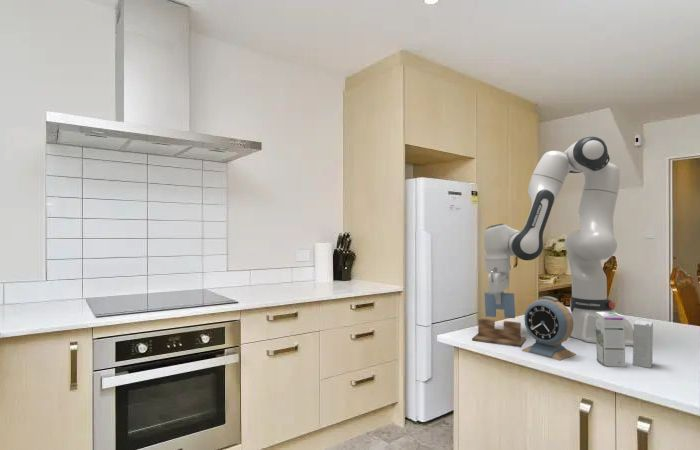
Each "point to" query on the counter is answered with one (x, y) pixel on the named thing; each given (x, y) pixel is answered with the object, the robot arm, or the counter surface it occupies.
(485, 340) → the walnut joint base
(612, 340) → the syrup box
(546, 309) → the alarm clock
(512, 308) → the blue slotted plate
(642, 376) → the counter surface
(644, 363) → the skincare box
